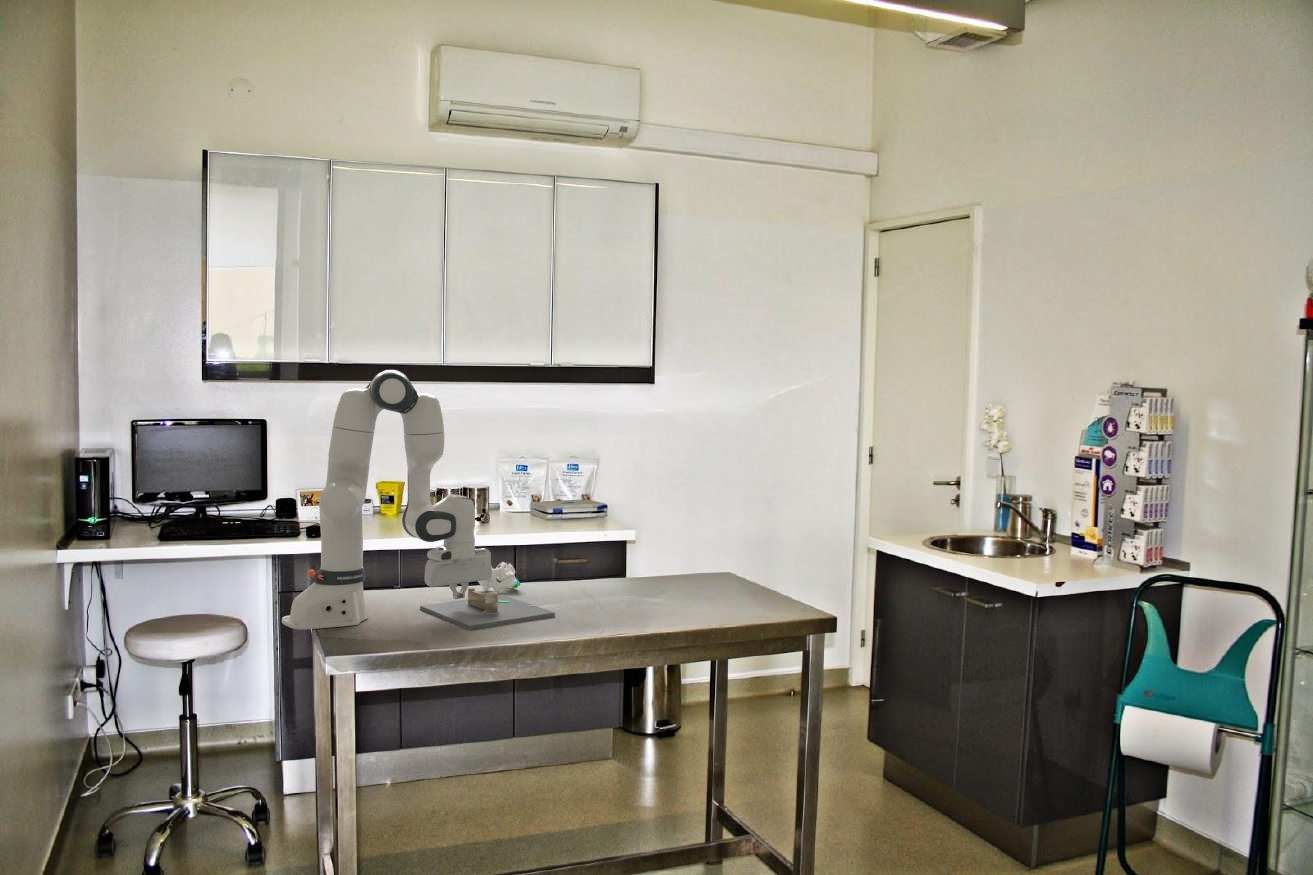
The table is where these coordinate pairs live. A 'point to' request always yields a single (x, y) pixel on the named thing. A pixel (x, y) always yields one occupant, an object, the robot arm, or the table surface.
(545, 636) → the table surface
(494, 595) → the brown rectangular block
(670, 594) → the table surface
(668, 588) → the table surface
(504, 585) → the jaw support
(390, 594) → the table surface
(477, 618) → the board
